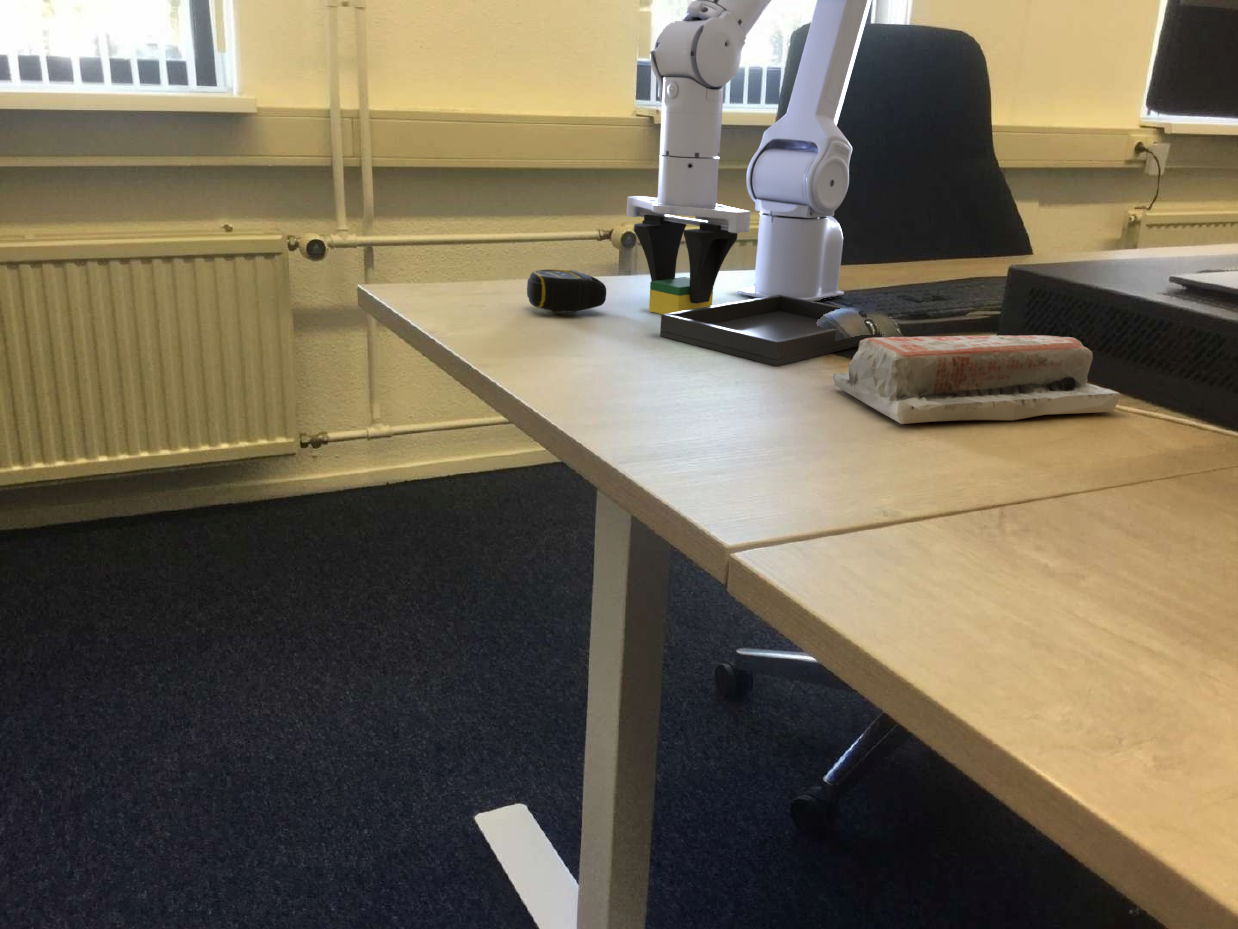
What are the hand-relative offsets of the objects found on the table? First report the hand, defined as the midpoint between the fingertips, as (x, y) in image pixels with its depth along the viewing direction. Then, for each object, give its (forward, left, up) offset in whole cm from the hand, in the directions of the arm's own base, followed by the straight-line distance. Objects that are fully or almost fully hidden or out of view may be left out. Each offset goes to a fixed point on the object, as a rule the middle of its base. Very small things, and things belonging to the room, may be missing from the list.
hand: (681, 297), depth 104 cm
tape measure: (+9, -7, -2) cm, 12 cm away
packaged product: (+6, +35, -2) cm, 36 cm away
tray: (+1, +13, -1) cm, 13 cm away
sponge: (0, 0, -1) cm, 1 cm away
